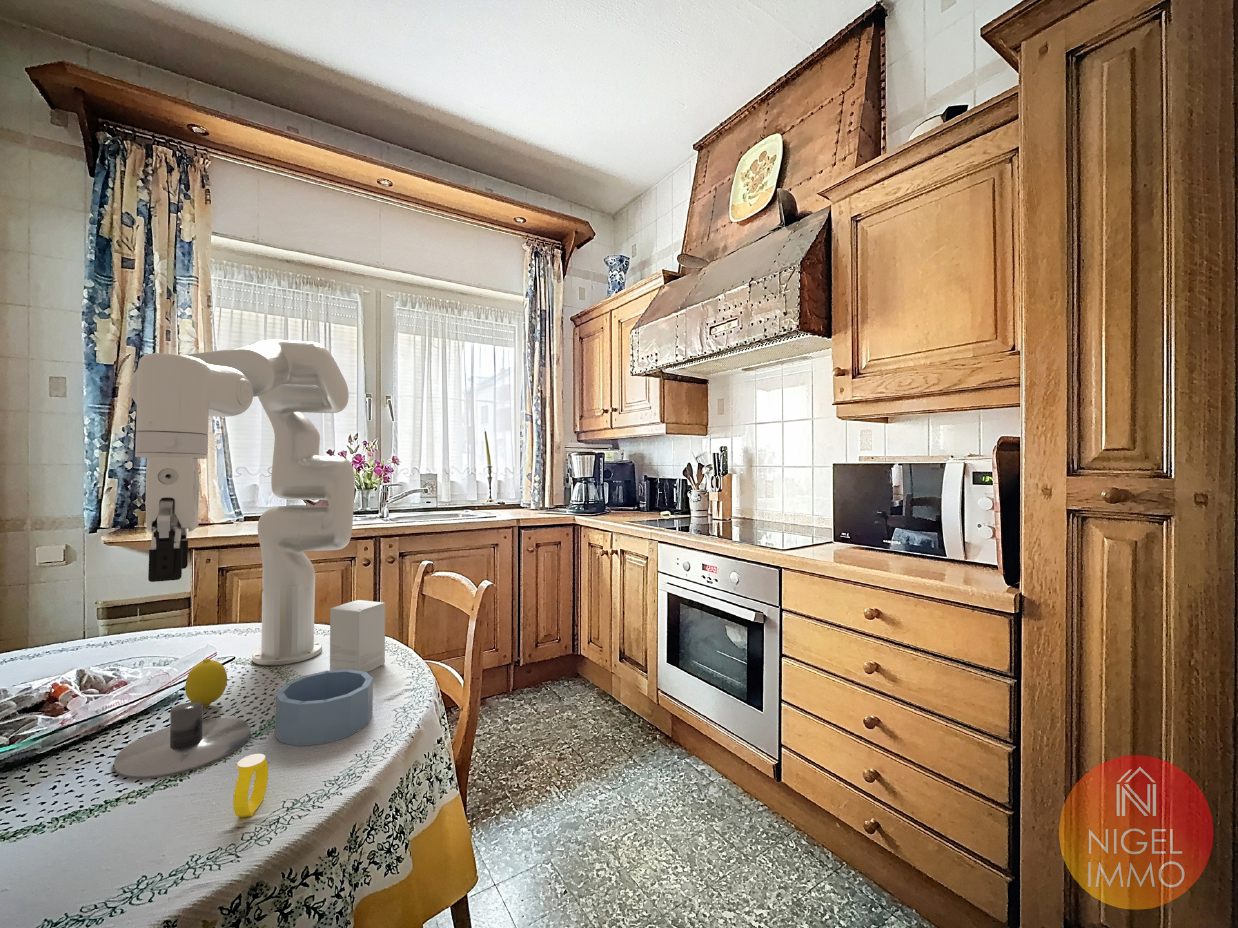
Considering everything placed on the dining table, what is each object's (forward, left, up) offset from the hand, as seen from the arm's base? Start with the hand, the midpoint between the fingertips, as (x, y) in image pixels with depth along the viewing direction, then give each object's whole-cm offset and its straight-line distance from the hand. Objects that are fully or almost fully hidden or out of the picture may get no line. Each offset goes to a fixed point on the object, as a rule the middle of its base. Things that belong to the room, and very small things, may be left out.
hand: (169, 574), depth 72 cm
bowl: (-9, +17, -26) cm, 32 cm away
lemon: (-19, -4, -26) cm, 32 cm away
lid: (-5, 0, -26) cm, 27 cm away
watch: (+12, +15, -26) cm, 32 cm away
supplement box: (-33, +16, -26) cm, 45 cm away
